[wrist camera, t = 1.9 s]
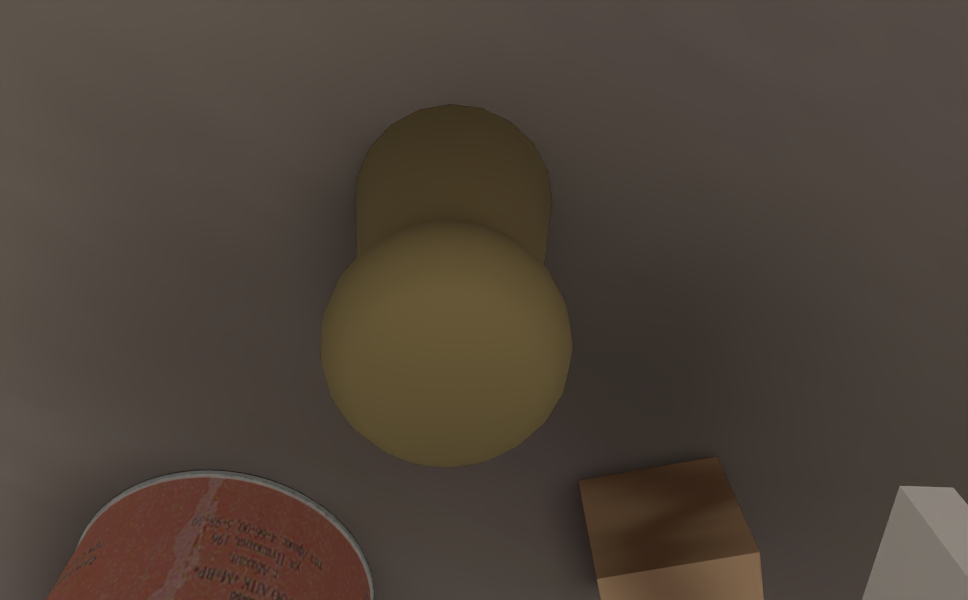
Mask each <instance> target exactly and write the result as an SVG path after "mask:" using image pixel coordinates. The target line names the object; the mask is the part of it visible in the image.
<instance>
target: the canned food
mask: <svg viewBox="0 0 968 600" xmlns="http://www.w3.org/2000/svg"><path fill="white" fill-rule="evenodd" d="M46 600H374V589H373V581H372V576H371V572H370V569H369V566H368V563H367V561H366V558H365V556H364V554H363V552H362V550H361V548H360V547H359V545H358V544H357V542H356V541H355V539H354V538H353V536H352V535H351V534H350V533H349V531H348V530H347V529H346V528H345V527H344V526H343V525H342V524H341V523H340V522H339V521H338V520H337V519H336V518H335V517H334V516H333V515H332V514H331V513H329V512H328V511H327V510H326V509H325V508H323V507H322V506H320V505H319V504H317V503H316V502H315V501H313V500H311V499H310V498H308V497H306V496H305V495H303V494H301V493H299V492H297V491H295V490H293V489H291V488H289V487H287V486H284V485H281V484H279V483H276V482H273V481H271V480H267V479H264V478H260V477H257V476H252V475H247V474H243V473H236V472H228V471H213V470H203V471H187V472H179V473H173V474H169V475H164V476H160V477H157V478H153V479H150V480H147V481H145V482H142V483H140V484H137V485H135V486H133V487H131V488H129V489H128V490H126V491H124V492H122V493H121V494H119V495H118V496H116V497H115V498H113V499H112V500H111V501H110V502H108V503H107V504H106V505H105V506H104V507H102V509H101V510H100V511H99V512H98V513H97V514H96V515H95V516H94V517H93V519H92V520H91V521H90V523H89V524H88V526H87V527H86V529H85V531H84V532H83V534H82V536H81V538H80V540H79V543H78V545H77V548H76V550H75V552H74V554H73V555H72V557H71V559H70V560H69V562H68V564H67V565H66V567H65V569H64V570H63V572H62V574H61V575H60V577H59V579H58V580H57V582H56V583H55V585H54V587H53V588H52V590H51V592H50V593H49V595H48V597H47V598H46Z"/></svg>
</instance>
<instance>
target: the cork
mask: <svg viewBox="0 0 968 600" xmlns="http://www.w3.org/2000/svg"><path fill="white" fill-rule="evenodd" d="M551 207H552V196H551V189H550V182H549V176H548V171H547V169H546V167H545V165H544V163H543V161H542V159H541V157H540V155H539V153H538V151H537V149H536V147H535V146H534V144H533V143H532V142H531V141H530V140H529V139H528V138H527V137H526V136H525V135H524V134H523V133H522V132H521V131H520V130H519V129H518V128H517V127H515V126H514V125H513V124H512V123H511V122H509V121H507V120H505V119H503V118H501V117H499V116H497V115H495V114H493V113H491V112H489V111H487V110H485V109H482V108H475V107H468V106H460V105H453V104H449V105H443V106H438V107H432V108H427V109H421V110H418V111H416V112H414V113H412V114H410V115H409V116H407V117H405V118H403V119H401V120H399V121H397V122H396V123H394V124H392V125H391V126H390V127H389V128H388V129H387V130H386V131H385V132H384V133H383V134H382V135H381V136H380V137H379V139H378V140H377V141H376V142H375V143H374V144H373V145H372V146H371V147H370V149H369V151H368V153H367V155H366V158H365V160H364V162H363V165H362V167H361V169H360V171H359V174H358V178H357V190H356V203H355V212H356V250H357V258H356V259H355V260H354V261H353V262H352V263H351V264H350V265H349V266H348V267H347V268H346V270H345V271H344V272H343V273H342V274H341V276H340V278H339V281H338V283H337V285H336V287H335V290H334V292H333V294H332V296H331V298H330V301H329V303H328V305H327V307H326V310H325V313H324V315H323V318H322V330H321V345H320V357H321V362H322V367H323V371H324V374H325V378H326V381H327V384H328V388H329V391H330V395H331V398H332V400H333V401H334V403H335V404H336V406H337V407H338V408H339V410H340V411H341V413H342V414H343V415H344V417H345V418H346V420H347V421H348V422H349V424H350V425H351V427H352V428H354V429H355V430H356V431H357V432H359V433H360V434H361V435H363V436H364V437H365V438H367V439H368V440H369V441H371V442H372V443H373V444H375V445H376V446H377V447H379V448H380V449H381V450H383V451H384V452H385V453H388V454H390V455H393V456H396V457H398V458H401V459H403V460H406V461H408V462H411V463H414V464H416V465H426V466H435V467H445V468H452V467H459V466H465V465H472V464H478V463H483V462H485V461H488V460H490V459H492V458H494V457H496V456H499V455H501V454H503V453H505V452H508V451H510V450H512V449H514V448H515V447H517V446H518V445H520V444H521V443H522V442H523V441H524V440H525V439H527V438H528V437H529V436H530V435H531V434H532V433H534V432H535V431H536V430H537V429H538V428H539V427H541V426H542V425H543V424H544V423H545V422H546V420H547V419H548V417H549V415H550V414H551V412H552V411H553V409H554V407H555V406H556V404H557V402H558V401H559V399H560V397H561V396H562V394H563V391H564V387H565V384H566V380H567V375H568V370H569V365H570V361H571V356H572V351H573V343H572V336H571V329H570V323H569V316H568V311H567V307H566V304H565V300H564V298H563V297H562V295H561V293H560V291H559V289H558V287H557V285H556V284H555V282H554V280H553V278H552V276H551V274H550V273H549V271H548V269H547V268H546V267H545V266H544V264H545V255H546V247H547V239H548V231H549V223H550V215H551Z"/></svg>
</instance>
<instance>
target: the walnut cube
mask: <svg viewBox="0 0 968 600" xmlns="http://www.w3.org/2000/svg"><path fill="white" fill-rule="evenodd" d="M578 482H579V487H580V492H581V498H582V503H583V508H584V514H585V519H586V524H587V530H588V535H589V540H590V546H591V551H592V556H593V562H594V567H595V572H596V578H597V583H598V588H599V593H600V598H601V600H764V597H763V585H762V573H761V561H760V552H759V549H758V547H757V545H756V543H755V540H754V538H753V536H752V534H751V531H750V529H749V527H748V525H747V522H746V520H745V518H744V516H743V514H742V511H741V509H740V507H739V505H738V502H737V500H736V498H735V496H734V493H733V491H732V489H731V487H730V484H729V482H728V480H727V478H726V475H725V473H724V471H723V469H722V466H721V464H720V462H719V460H718V457H717V456H716V457H710V458H705V459H699V460H693V461H688V462H682V463H676V464H670V465H665V466H659V467H653V468H648V469H642V470H636V471H631V472H625V473H619V474H613V475H608V476H602V477H596V478H591V479H585V480H579V481H578Z"/></svg>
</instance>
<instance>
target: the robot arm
mask: <svg viewBox="0 0 968 600" xmlns="http://www.w3.org/2000/svg"><path fill="white" fill-rule="evenodd" d="M862 600H968V505H967V504H966V502H965V501H964V500H963V499H962V498H961V496H960V495H959V494H958V493H957V492H956V490H955V489H954V488H949V487H919V486H900V487H899V490H898V493H897V496H896V499H895V502H894V505H893V508H892V511H891V514H890V517H889V520H888V523H887V526H886V529H885V532H884V535H883V538H882V541H881V544H880V547H879V550H878V553H877V556H876V559H875V562H874V565H873V568H872V571H871V574H870V577H869V580H868V583H867V586H866V589H865V592H864V595H863V598H862Z"/></svg>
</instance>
